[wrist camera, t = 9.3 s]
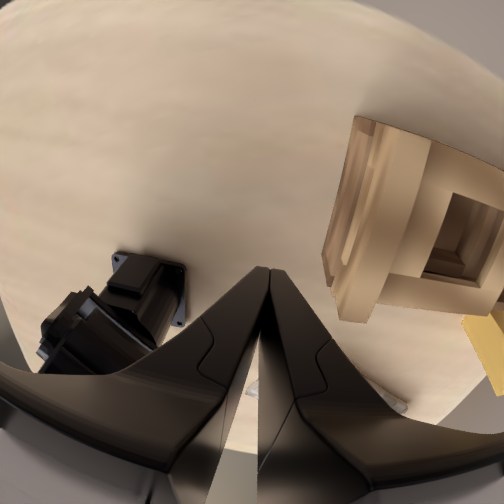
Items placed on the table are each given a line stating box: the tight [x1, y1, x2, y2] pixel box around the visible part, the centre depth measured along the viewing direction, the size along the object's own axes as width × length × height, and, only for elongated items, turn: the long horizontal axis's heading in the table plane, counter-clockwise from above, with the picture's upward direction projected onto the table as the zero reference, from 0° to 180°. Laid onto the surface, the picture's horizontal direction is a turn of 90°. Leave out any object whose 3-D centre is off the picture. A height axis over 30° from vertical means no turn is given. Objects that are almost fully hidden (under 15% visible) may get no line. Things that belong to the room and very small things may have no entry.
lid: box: [331, 122, 504, 323], centre depth 14 cm, size 10×13×3 cm
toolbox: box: [321, 116, 504, 311], centre depth 17 cm, size 10×18×4 cm, turn 82°
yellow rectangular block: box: [462, 310, 504, 396], centre depth 19 cm, size 4×4×9 cm
